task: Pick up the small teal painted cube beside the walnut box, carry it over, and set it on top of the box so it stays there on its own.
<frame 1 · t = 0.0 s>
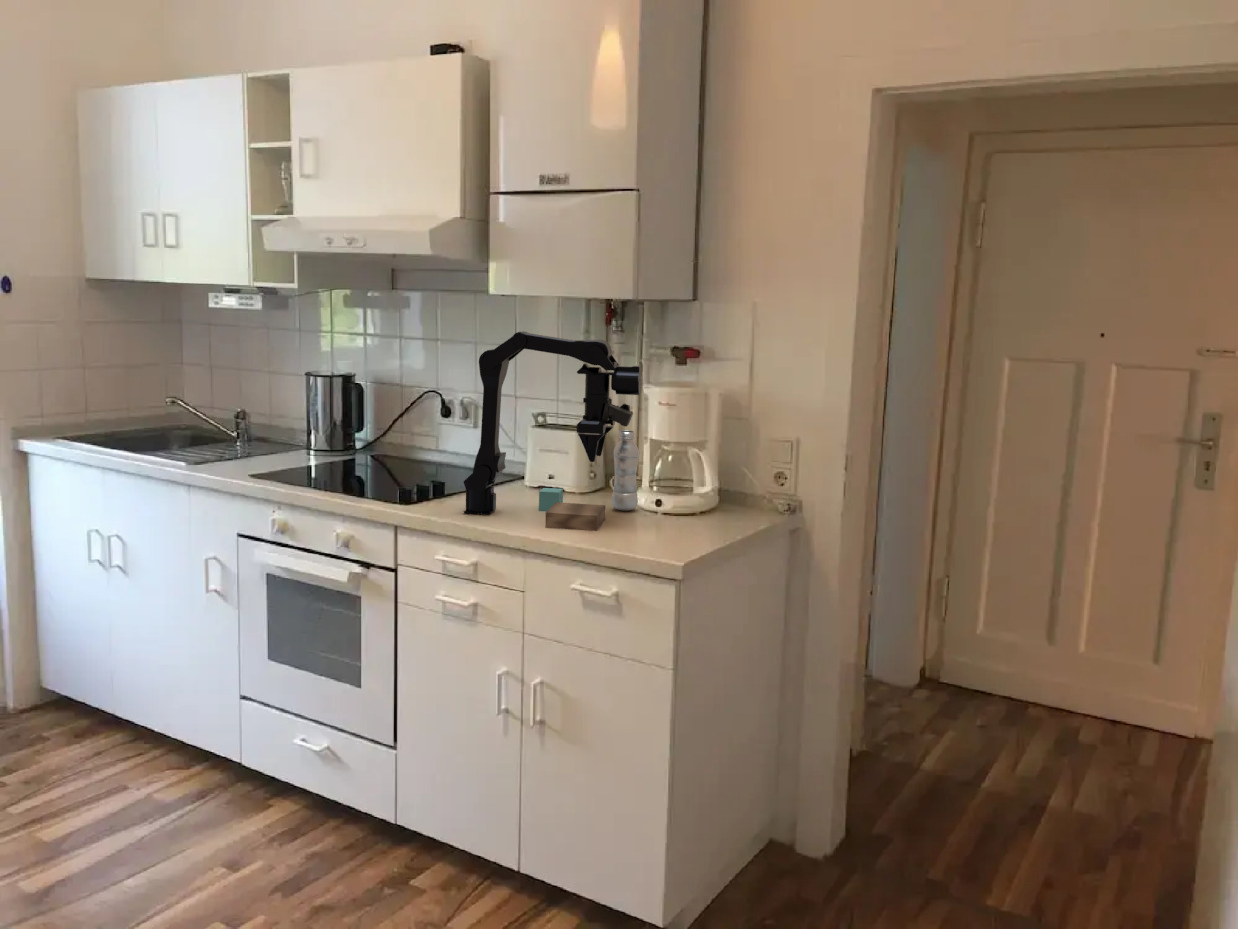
hand: (595, 458, 249), 15 cm above the worktop, fingers open, 9 cm apart
teal cube: (550, 509, 261), on the worktop
plastic bottle: (624, 511, 263), on the worktop
walnut box: (575, 525, 246), on the worktop
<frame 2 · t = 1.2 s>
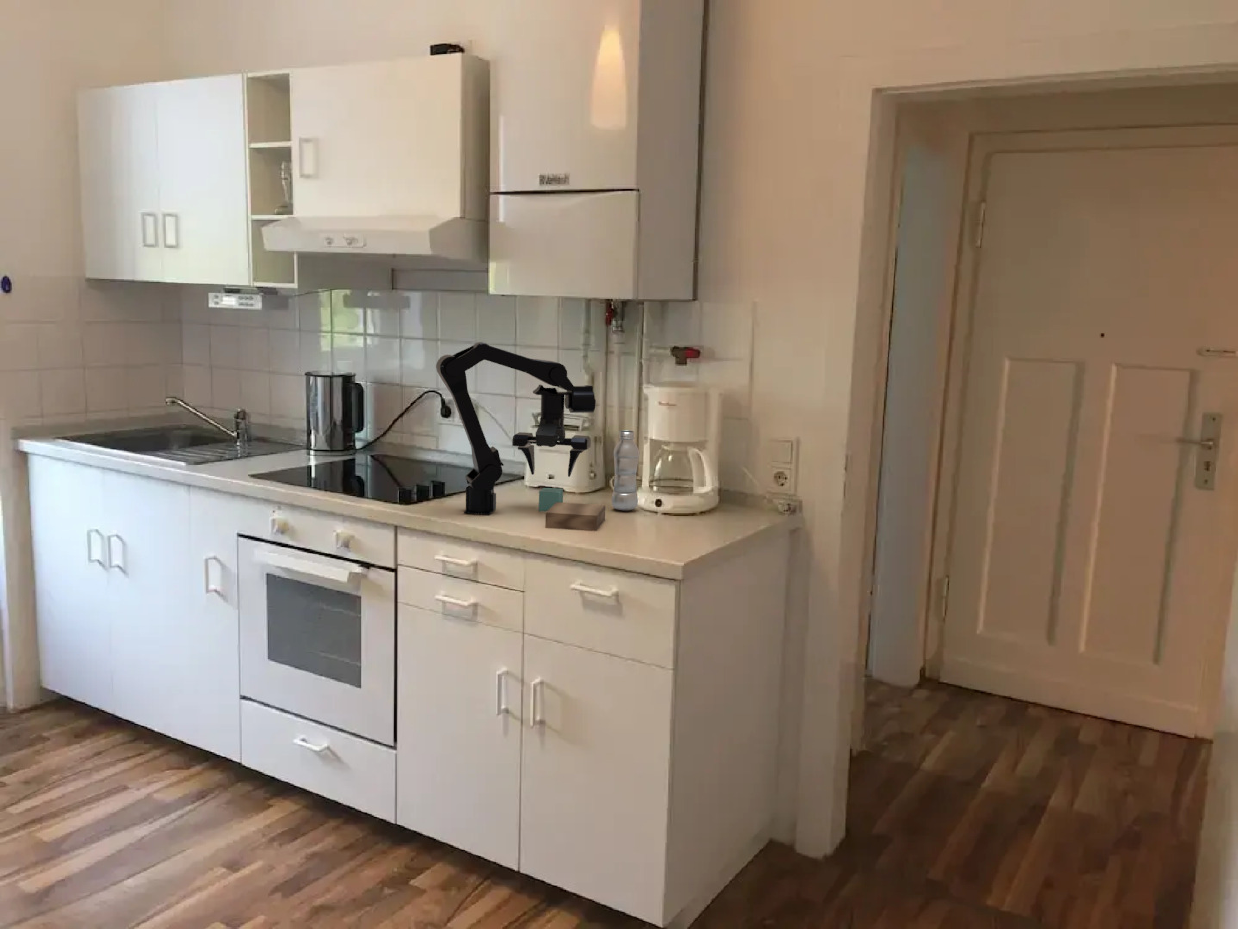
hand: (550, 475, 260), 9 cm above the worktop, fingers open, 9 cm apart
nothing on the worktop moved.
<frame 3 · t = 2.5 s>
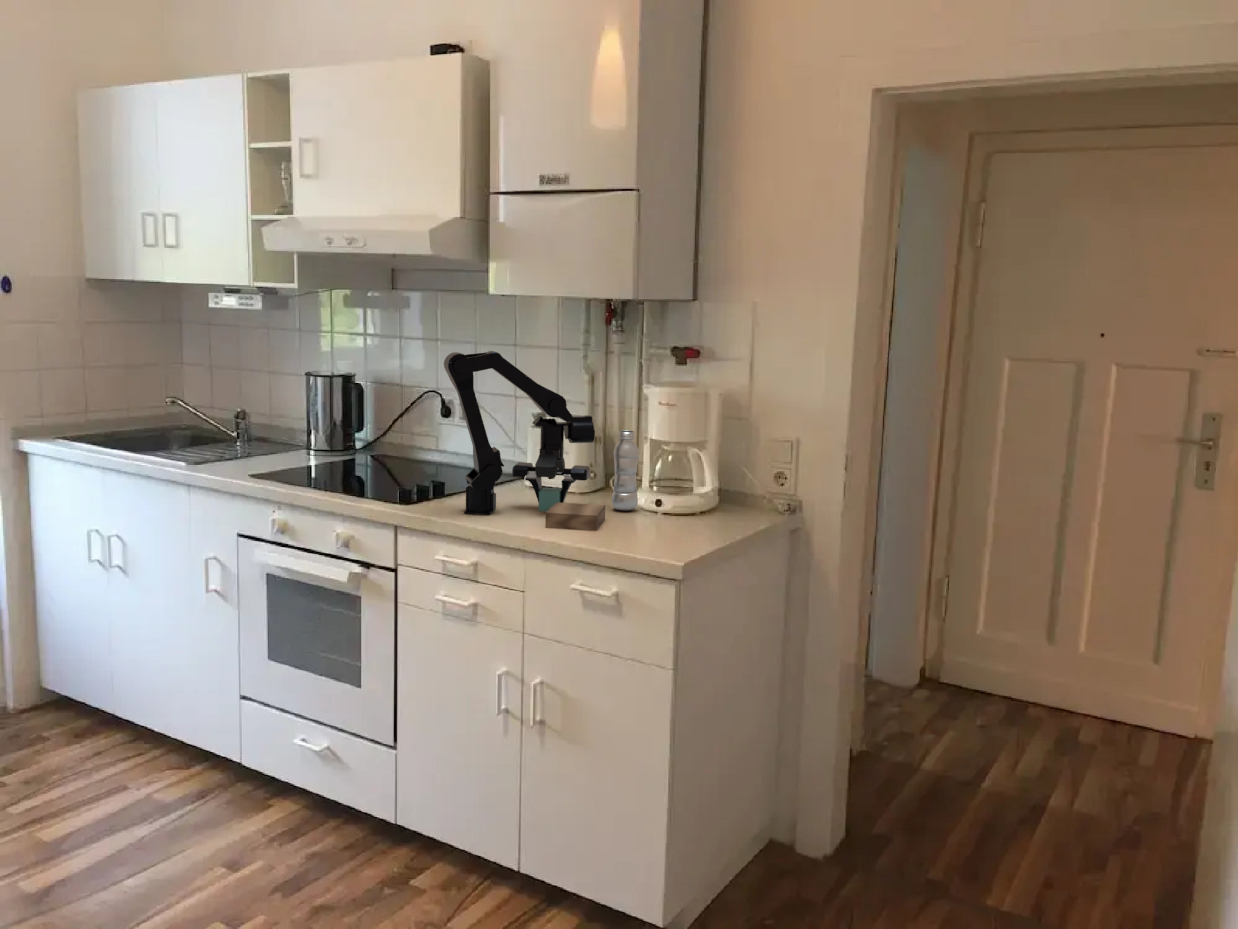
hand: (550, 505, 261), 1 cm above the worktop, fingers closed on teal cube, 5 cm apart
teal cube: (550, 509, 261), on the worktop, touching gripper
everything else where it was.
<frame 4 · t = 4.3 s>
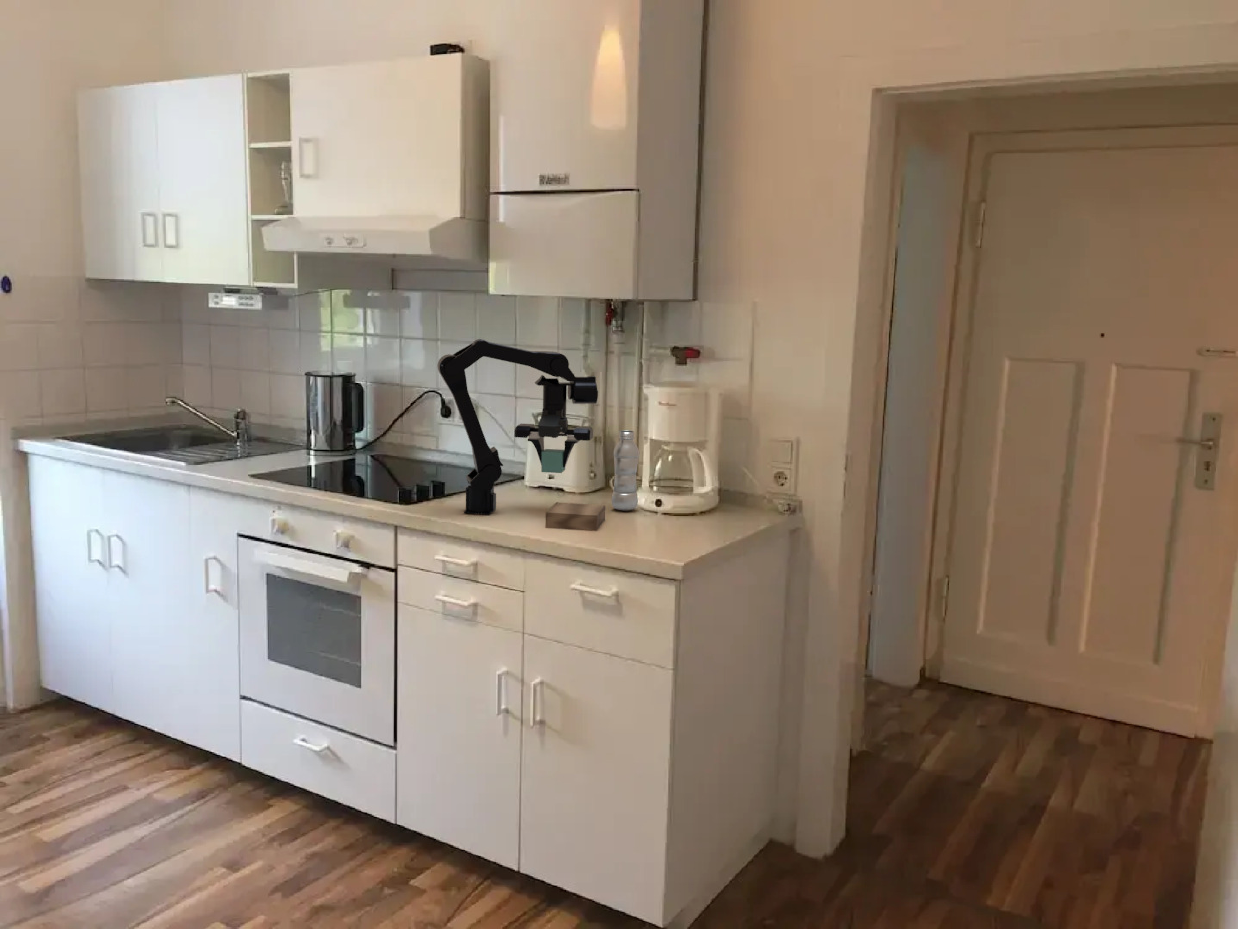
hand: (553, 466, 258), 11 cm above the worktop, fingers closed on teal cube, 5 cm apart
teal cube: (553, 470, 258), point 10 cm above the worktop, touching gripper
everything else where it was.
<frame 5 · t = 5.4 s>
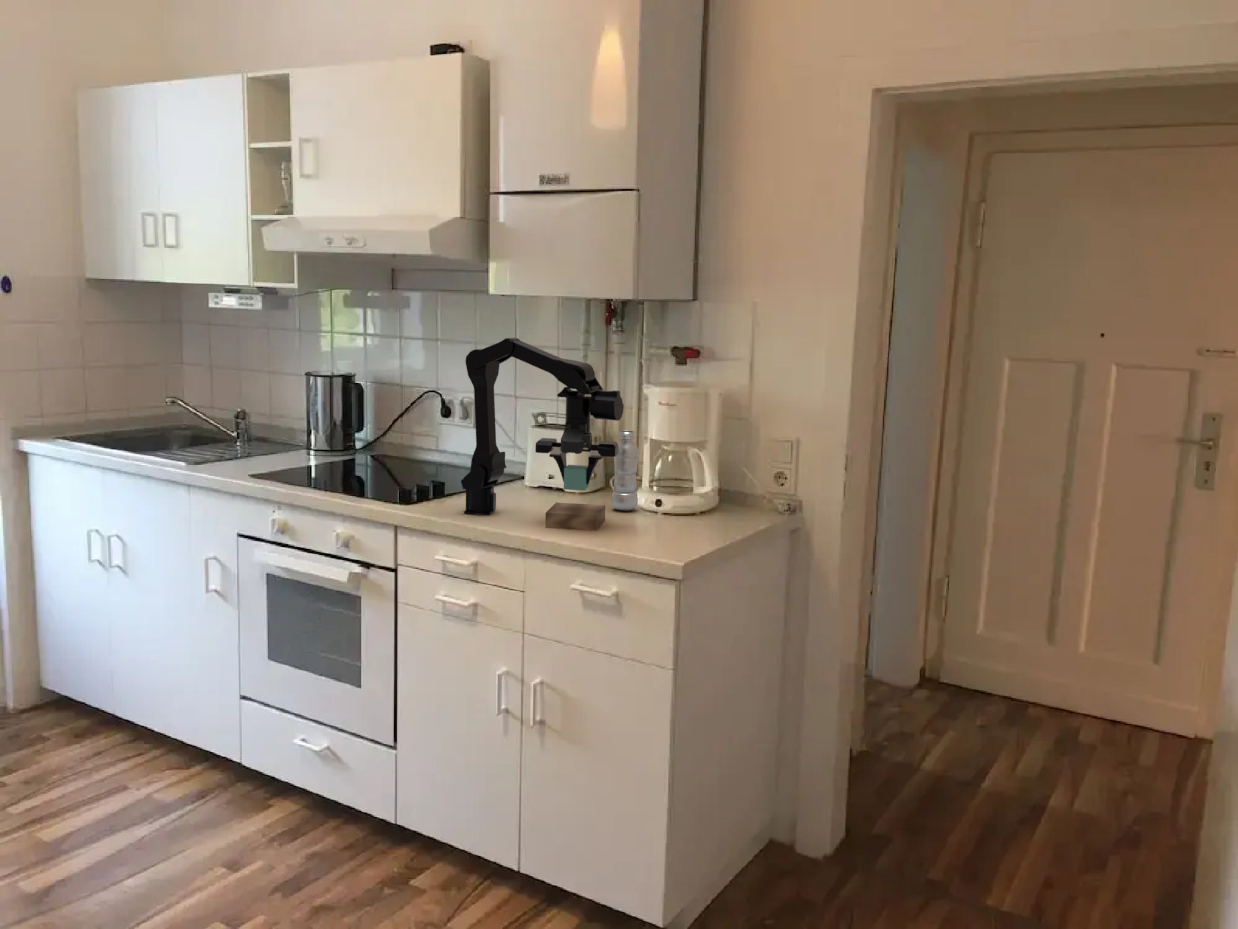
hand: (576, 483, 245), 10 cm above the worktop, fingers closed on teal cube, 5 cm apart
teal cube: (576, 488, 245), point 8 cm above the worktop, touching gripper
everything else where it was.
when the fingers open (6 cm above the worktop, at t = 6.2 s): teal cube drops 2 cm, point 4 cm above the worktop.
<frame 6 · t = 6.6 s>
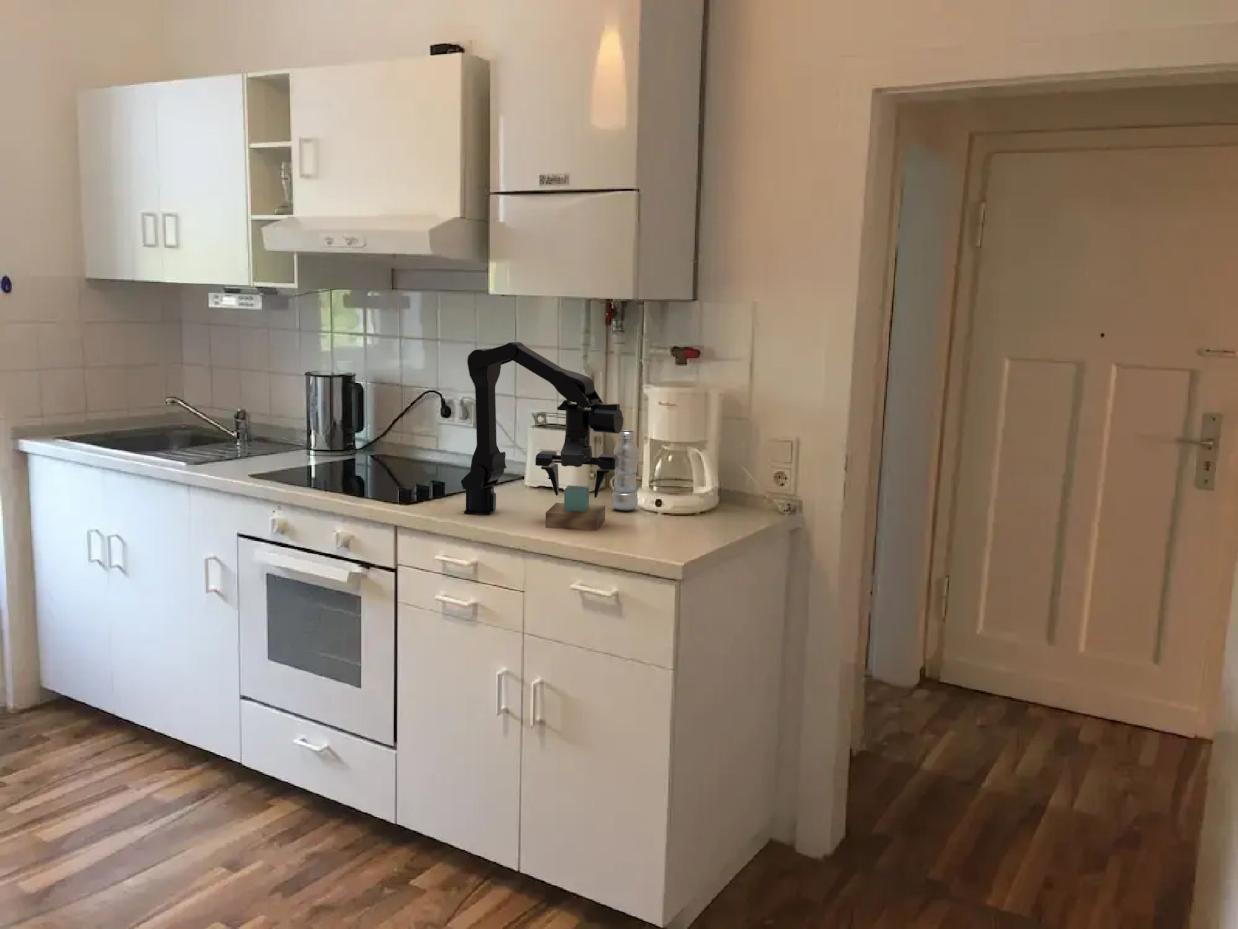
hand: (576, 496, 245), 6 cm above the worktop, fingers open, 9 cm apart
teal cube: (576, 508, 246), point 4 cm above the worktop
everything else where it was.
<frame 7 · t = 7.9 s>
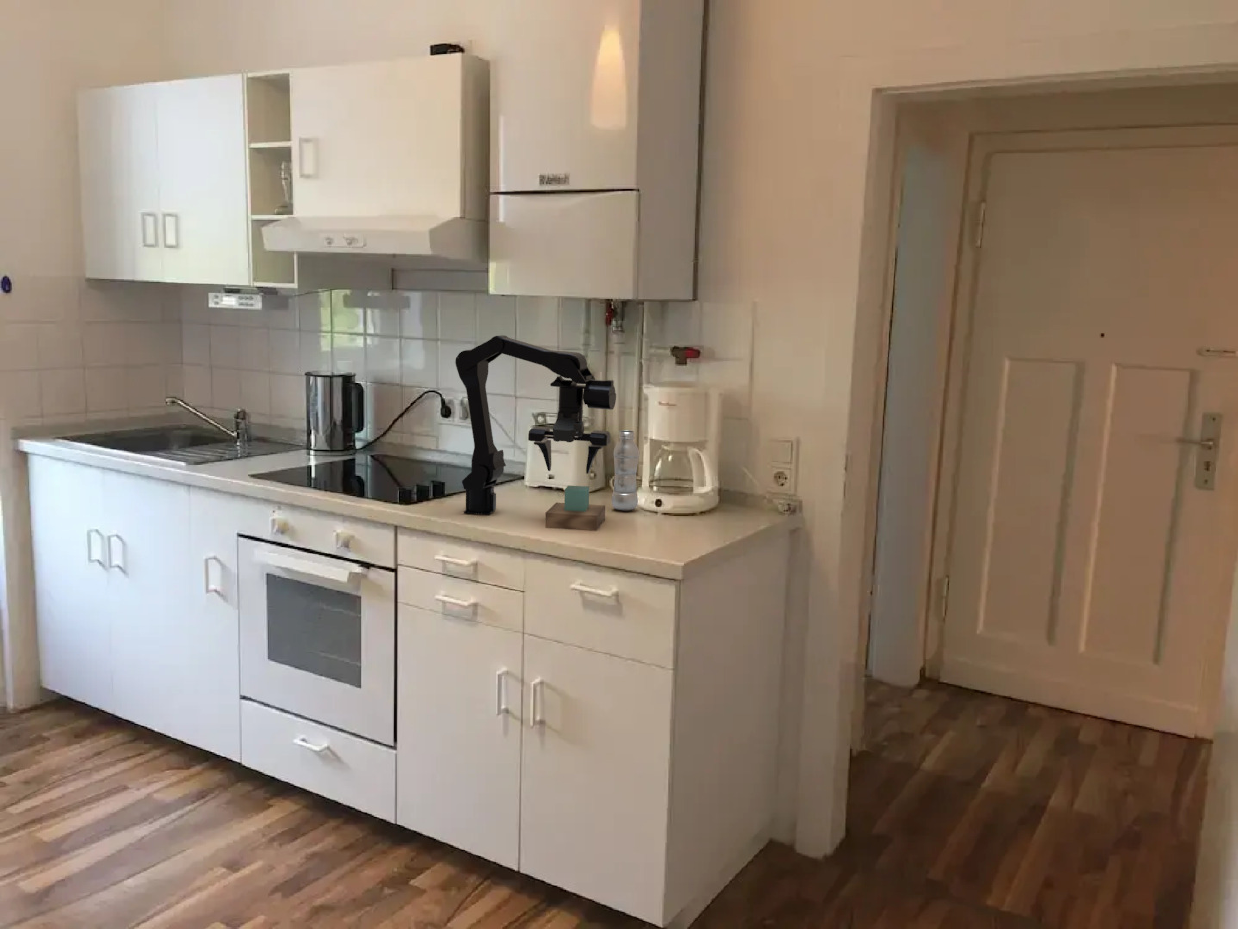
hand: (568, 472, 248), 12 cm above the worktop, fingers open, 9 cm apart
teal cube: (576, 508, 246), point 4 cm above the worktop, touching walnut box
walnut box: (575, 525, 246), on the worktop, touching teal cube
everything else where it was.
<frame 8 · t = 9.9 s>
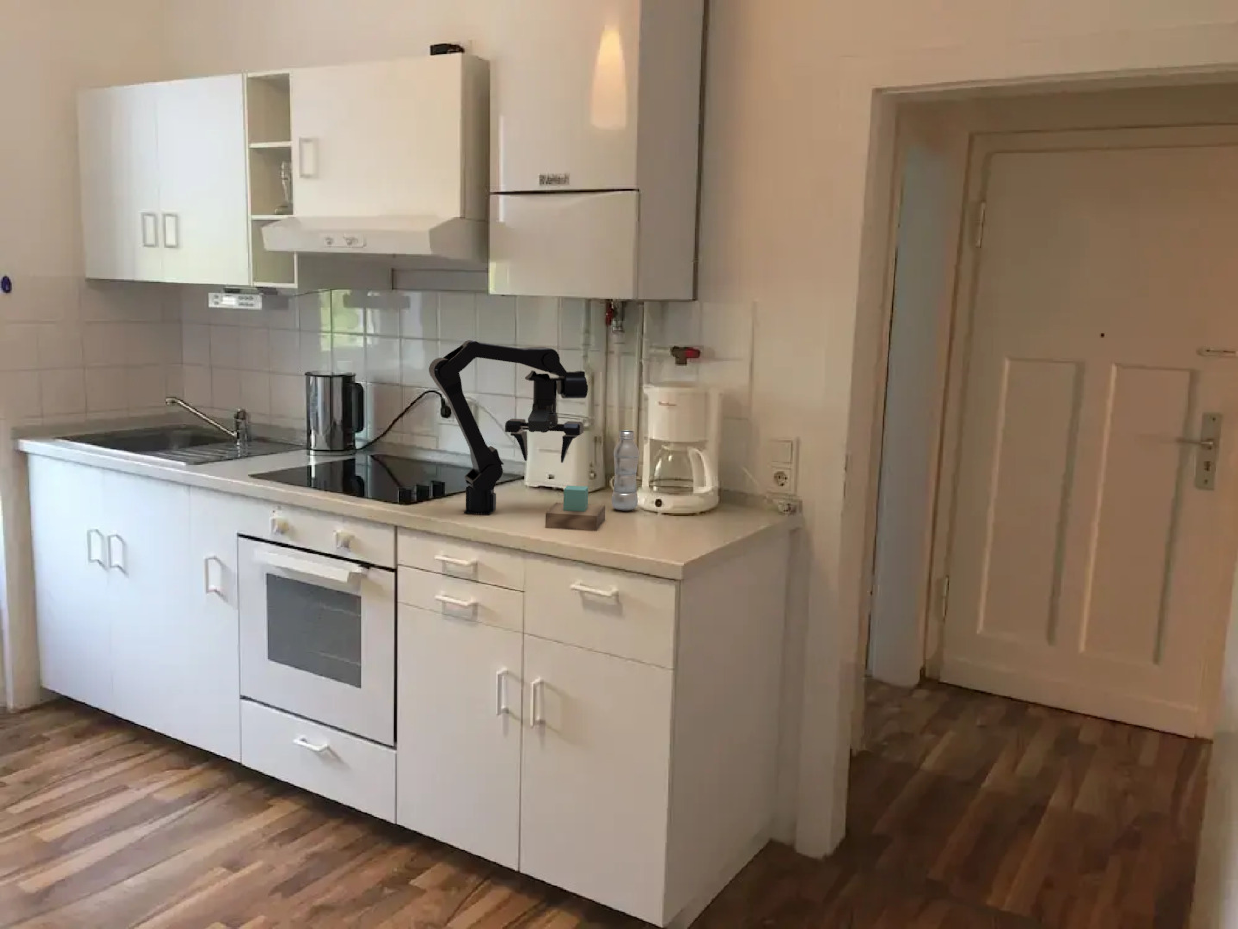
hand: (543, 461, 259), 12 cm above the worktop, fingers open, 9 cm apart
teal cube: (575, 508, 246), point 4 cm above the worktop
walnut box: (575, 525, 246), on the worktop
everything else where it was.
at the end: teal cube inside the target area on the walnut box (0.1 cm from its centre), point 4.0 cm above the walnut box's base; teal cube touching nothing; the gripper is holding nothing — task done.
